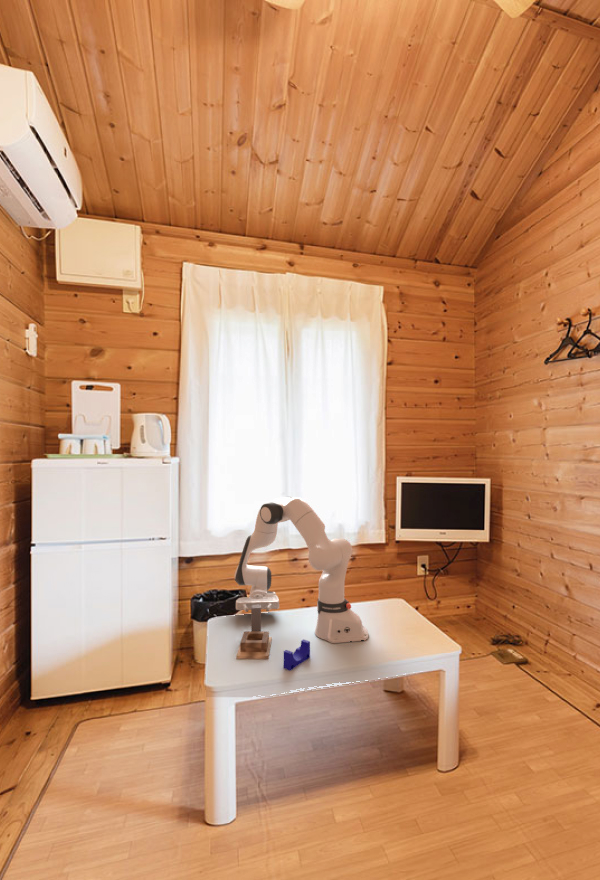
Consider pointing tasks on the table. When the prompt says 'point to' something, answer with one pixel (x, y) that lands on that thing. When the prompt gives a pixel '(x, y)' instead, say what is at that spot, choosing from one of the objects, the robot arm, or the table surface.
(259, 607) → the peg
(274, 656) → the table surface
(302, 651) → the blue cradle bracket
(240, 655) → the socket board
